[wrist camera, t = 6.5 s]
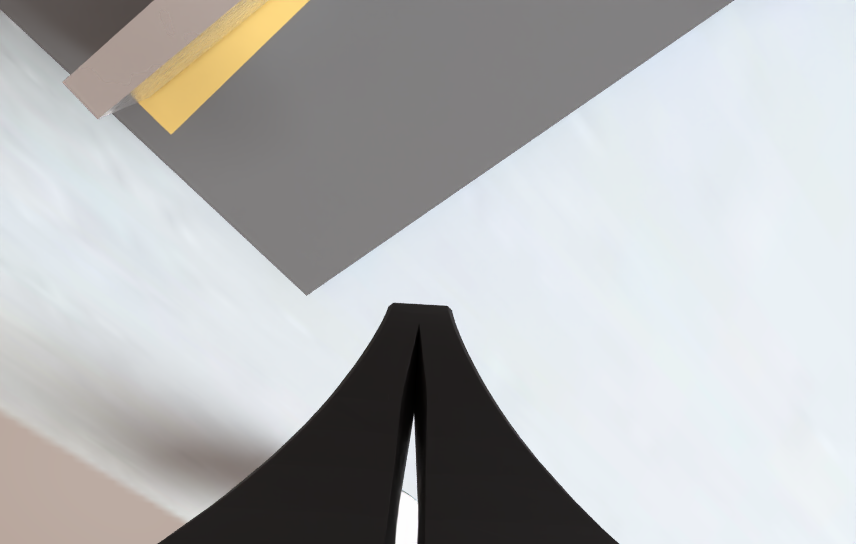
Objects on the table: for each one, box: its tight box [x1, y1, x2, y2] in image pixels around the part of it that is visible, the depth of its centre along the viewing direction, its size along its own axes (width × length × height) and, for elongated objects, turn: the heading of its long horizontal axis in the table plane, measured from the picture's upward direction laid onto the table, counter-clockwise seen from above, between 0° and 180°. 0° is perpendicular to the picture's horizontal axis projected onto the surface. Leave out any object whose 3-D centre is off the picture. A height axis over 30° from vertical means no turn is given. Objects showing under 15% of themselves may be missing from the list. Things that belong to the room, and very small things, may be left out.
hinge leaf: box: [62, 0, 269, 119], centre depth 14 cm, size 8×1×3 cm, turn 122°
